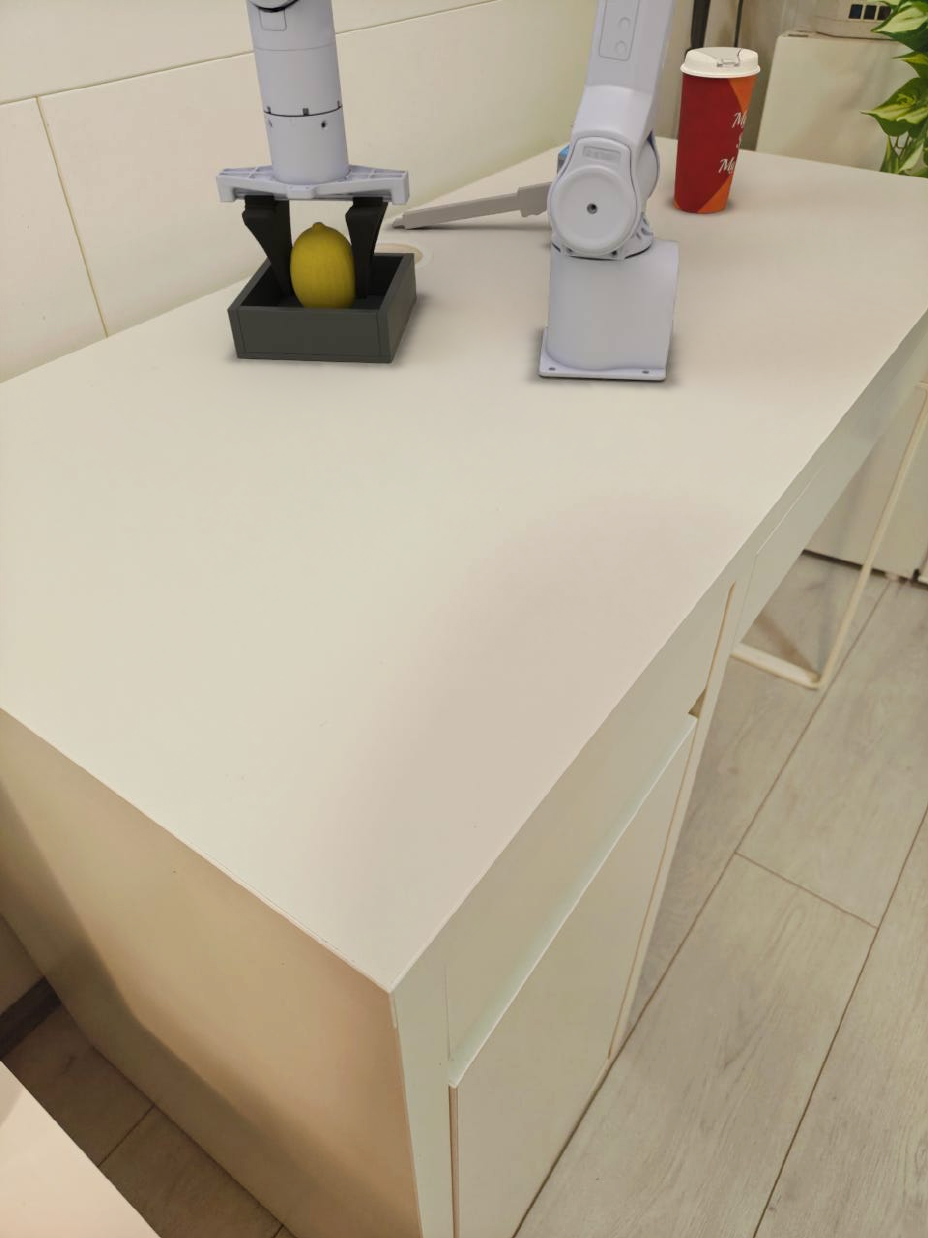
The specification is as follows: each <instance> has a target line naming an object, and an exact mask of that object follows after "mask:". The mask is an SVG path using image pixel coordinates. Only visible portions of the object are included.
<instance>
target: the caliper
mask: <svg viewBox="0 0 928 1238" xmlns="http://www.w3.org/2000/svg"><path fill="white" fill-rule="evenodd" d="M552 182H553V180H551V181H546V182H542V183H535V184H532V185H531V184H529V185H526V186H521V187H518V188H517V191H516V192H513V193H512V192H511V193H506V194H500V195H494V196H488V197H482V198H477V199H470V200H465V201H459V202H453V203H448V204H442V205H438V206H431V207H425V208H419V209H414V210H413V209H412V210H408V211H404V212H403V213H402V215H401V217H398V218H397V217H396V218H395V219H394V220H393V221H392V222H391V226H392V227H398V226H402V225H403V226H404V229H405V230H408V229H409V230H410V229H415V228H416V229H417V228H422V227H428V226H433V225H439V224H445V223H450V222H455V221H461V220H468V219H472V218H480V217H485V216H491V215H497V214H503V213H510V212H517V211H520V215H521V218H528V217H530V216H540V215H541V214H543V213H545V212H547V198H548V193H549V189H550V186H551V184H552Z"/></svg>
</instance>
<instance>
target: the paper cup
mask: <svg viewBox="0 0 928 1238" xmlns="http://www.w3.org/2000/svg"><path fill="white" fill-rule="evenodd" d="M679 70H680V71H681V72H682V79H681V80H682V81H681V93H680V94H681V95H680V108H679V117H678V118H679V121H678V131H677V132H678V133H677V145H676V156H675V157H676V160H675V170H674V171H675V173H674V186H673V187H674V188H673V206H674V207H675V208H676V209H678V210H680V211H682V212H687V213H692V214H713V213H718V212H721V211H723V210H724V209H726V206H727V203H728V200H729V196H730V190H731V187H732V184H733V183H732V182H733V180H734V179H733V178H734V175H735V170H736V165H737V162H738V156H739V153H740V147H741V144H742V143H741V142H742V140H743V134H744V130H745V126H746V121H747V116H748V112H749V108H750V103H751V99H752V94H753V90H754V86H755V80H756V76H757V74H759V73H761V67H760V65H759V54H758V52H756V51H754V50H752V49H748V48H741V47H733V46H732V47H731V46H709V47H699V48H695V49H691V50H689V51H687V53H686V55H685V59H684V61H683V63H682V64H681V66H680V68H679Z"/></svg>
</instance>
